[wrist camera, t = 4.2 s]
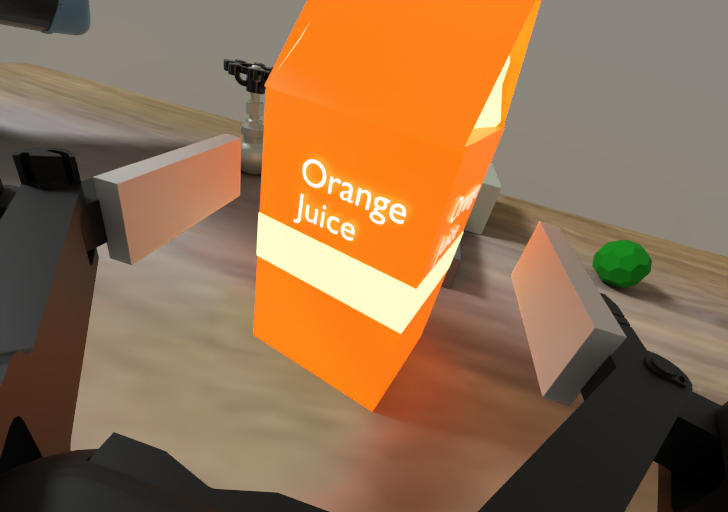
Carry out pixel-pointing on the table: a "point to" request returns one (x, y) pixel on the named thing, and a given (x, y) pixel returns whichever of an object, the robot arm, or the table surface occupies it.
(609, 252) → the polyhedron
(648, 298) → the table surface
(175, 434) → the table surface
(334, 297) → the orange juice
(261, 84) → the valve
